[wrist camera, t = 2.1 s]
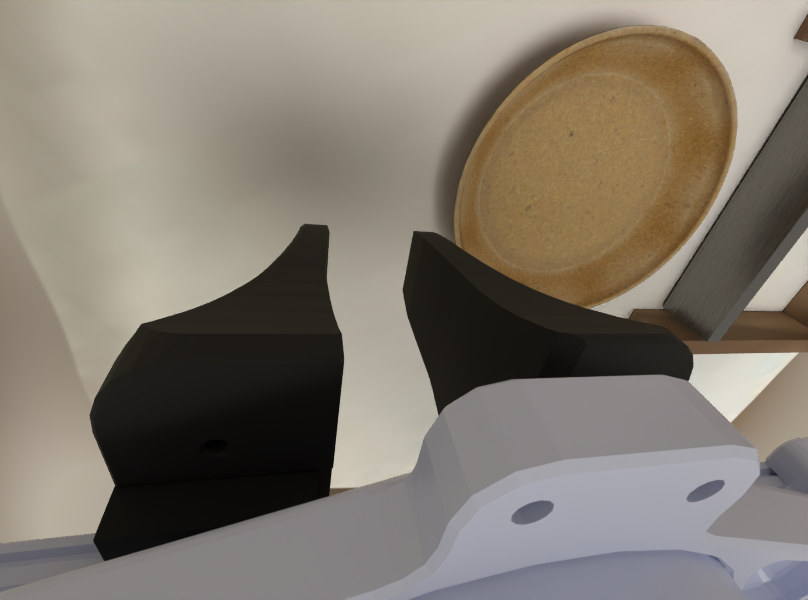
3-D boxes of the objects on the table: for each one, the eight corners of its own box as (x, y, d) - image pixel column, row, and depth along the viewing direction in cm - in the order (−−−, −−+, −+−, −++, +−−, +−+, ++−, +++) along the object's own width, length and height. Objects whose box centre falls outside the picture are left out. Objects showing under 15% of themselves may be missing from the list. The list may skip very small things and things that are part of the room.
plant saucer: (527, 328, 28) (544, 353, 26) (383, 188, 21) (392, 208, 18) (724, 180, 24) (763, 195, 22) (640, -67, 16) (688, -78, 14)
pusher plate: (674, 306, 30) (718, 341, 26) (663, 306, 29) (706, 342, 26) (835, 58, 21) (931, 67, 18) (822, 55, 21) (916, 64, 17)
